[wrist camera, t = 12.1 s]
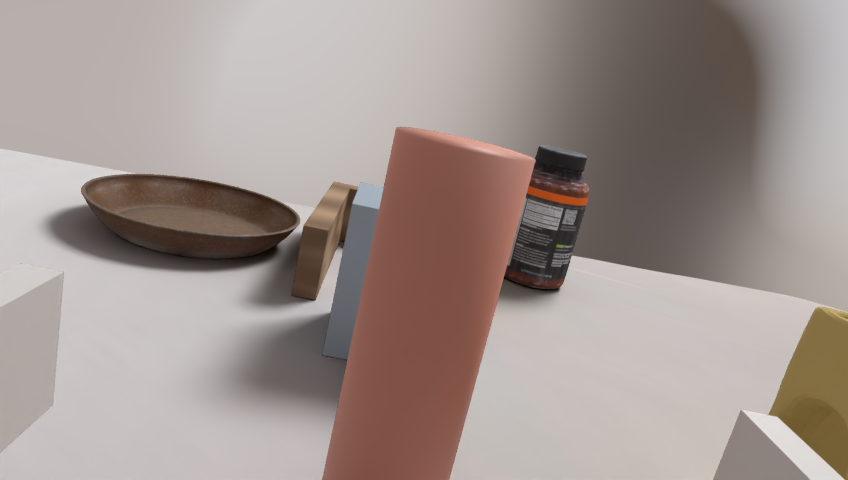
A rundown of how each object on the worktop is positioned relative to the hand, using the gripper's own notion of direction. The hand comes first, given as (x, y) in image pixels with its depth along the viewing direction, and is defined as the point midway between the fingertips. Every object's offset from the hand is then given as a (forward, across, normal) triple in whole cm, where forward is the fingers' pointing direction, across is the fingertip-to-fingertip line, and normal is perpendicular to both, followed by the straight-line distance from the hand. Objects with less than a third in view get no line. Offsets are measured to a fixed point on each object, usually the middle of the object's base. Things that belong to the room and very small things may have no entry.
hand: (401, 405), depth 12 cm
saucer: (+33, -14, -9) cm, 37 cm away
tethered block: (+14, 0, -8) cm, 16 cm away
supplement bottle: (+40, +12, -8) cm, 42 cm away
